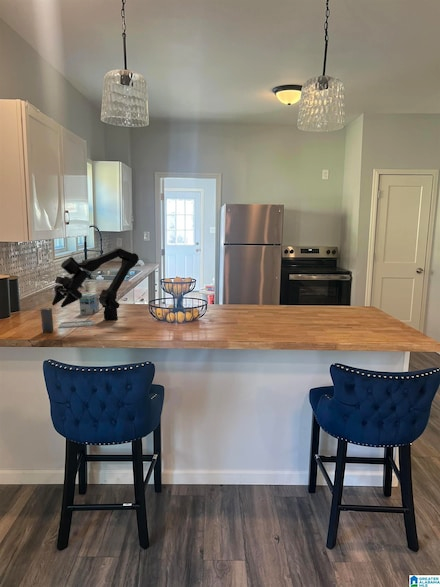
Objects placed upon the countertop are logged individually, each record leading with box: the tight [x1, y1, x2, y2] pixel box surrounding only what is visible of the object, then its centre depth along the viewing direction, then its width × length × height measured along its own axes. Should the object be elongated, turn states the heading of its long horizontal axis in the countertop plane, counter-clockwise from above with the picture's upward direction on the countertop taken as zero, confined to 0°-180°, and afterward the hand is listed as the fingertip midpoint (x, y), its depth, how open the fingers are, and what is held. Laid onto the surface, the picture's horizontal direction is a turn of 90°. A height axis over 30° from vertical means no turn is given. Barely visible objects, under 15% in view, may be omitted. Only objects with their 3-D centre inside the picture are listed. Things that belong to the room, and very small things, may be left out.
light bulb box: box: [78, 292, 100, 315], centre depth 238 cm, size 11×7×11 cm, turn 168°
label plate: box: [58, 319, 95, 329], centre depth 210 cm, size 16×10×1 cm, turn 104°
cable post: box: [40, 307, 54, 334], centre depth 196 cm, size 5×5×11 cm
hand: (57, 305), depth 199 cm, fingers open, 9 cm apart
